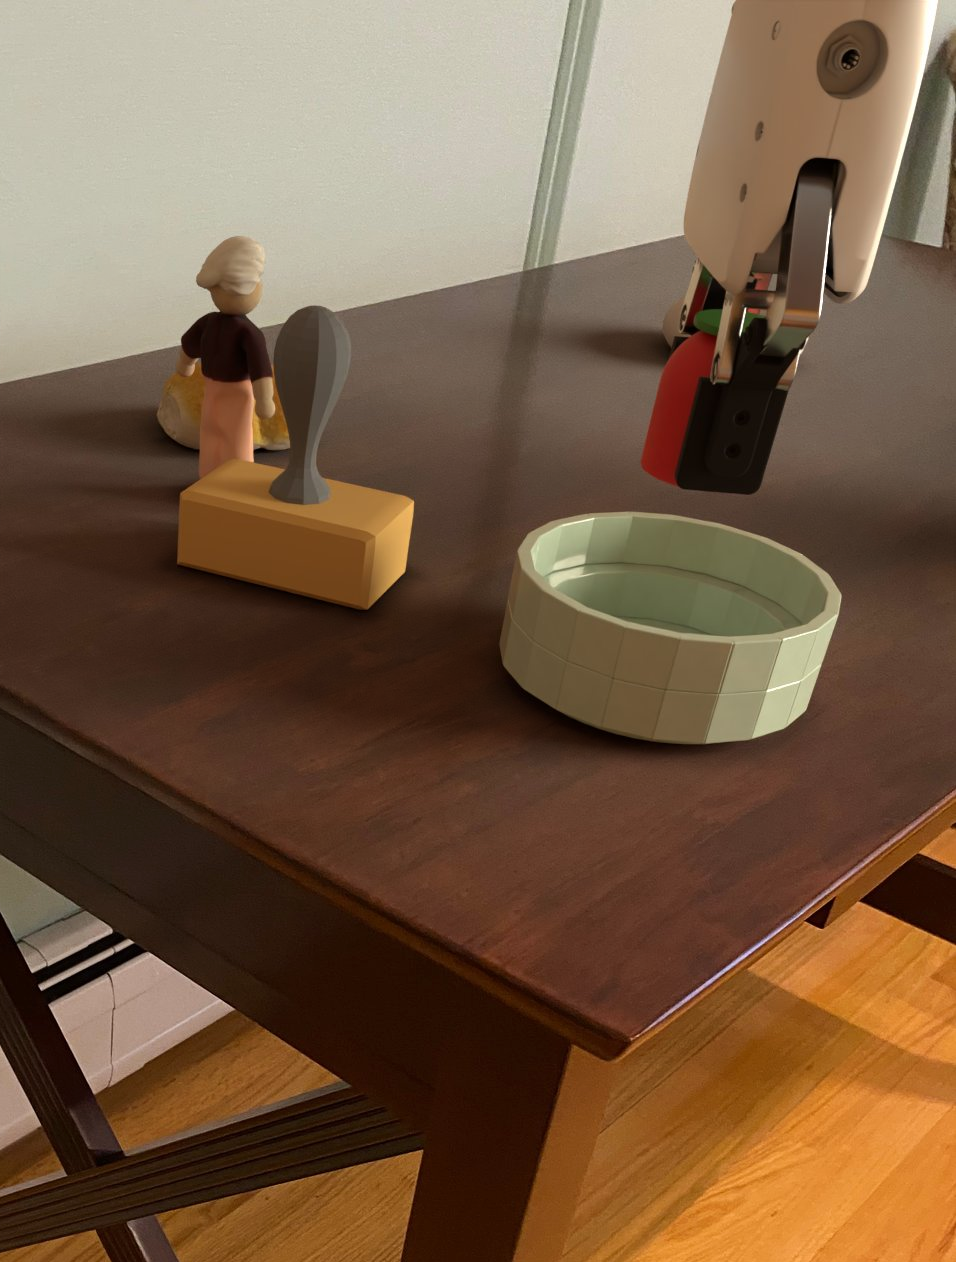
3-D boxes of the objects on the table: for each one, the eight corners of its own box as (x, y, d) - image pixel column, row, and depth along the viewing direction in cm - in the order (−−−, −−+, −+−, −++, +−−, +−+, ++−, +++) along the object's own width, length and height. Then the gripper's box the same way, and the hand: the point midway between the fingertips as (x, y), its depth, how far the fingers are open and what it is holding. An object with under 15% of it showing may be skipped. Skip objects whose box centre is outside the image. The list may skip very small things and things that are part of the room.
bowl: (766, 627, 70) (798, 524, 67) (838, 768, 60) (879, 654, 57) (487, 605, 71) (506, 501, 68) (511, 741, 61) (534, 627, 57)
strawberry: (744, 457, 61) (785, 309, 58) (768, 497, 58) (814, 342, 54) (632, 447, 62) (667, 299, 58) (649, 487, 58) (688, 332, 54)
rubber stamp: (407, 570, 73) (444, 311, 66) (364, 613, 69) (398, 342, 62) (225, 527, 76) (240, 274, 69) (174, 566, 72) (184, 302, 65)
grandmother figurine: (299, 507, 79) (324, 246, 71) (253, 525, 77) (272, 258, 69) (192, 467, 83) (204, 216, 75) (145, 484, 81) (151, 226, 73)
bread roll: (334, 450, 86) (341, 379, 84) (189, 463, 84) (193, 389, 81) (276, 404, 92) (282, 336, 90) (140, 415, 89) (142, 345, 87)
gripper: (1069, -77, 41) (852, 556, 53) (894, -105, 55) (751, 407, 66) (798, -97, 42) (640, 538, 53) (689, -121, 55) (581, 392, 66)
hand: (703, 460), depth 59 cm, fingers closed on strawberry, 4 cm apart
